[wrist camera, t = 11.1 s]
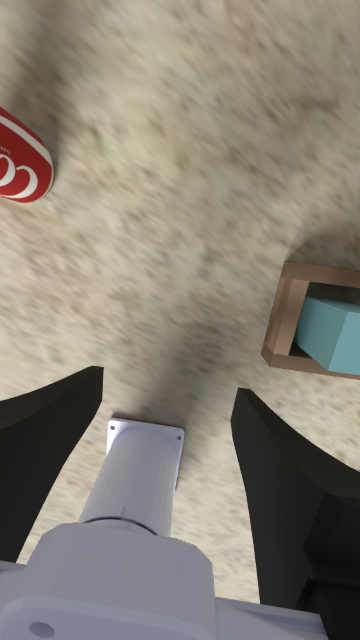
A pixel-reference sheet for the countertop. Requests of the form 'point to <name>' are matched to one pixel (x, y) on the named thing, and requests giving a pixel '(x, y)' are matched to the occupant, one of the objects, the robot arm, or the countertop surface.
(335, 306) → the light blue block
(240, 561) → the countertop surface
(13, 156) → the soda can
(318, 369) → the well frame
